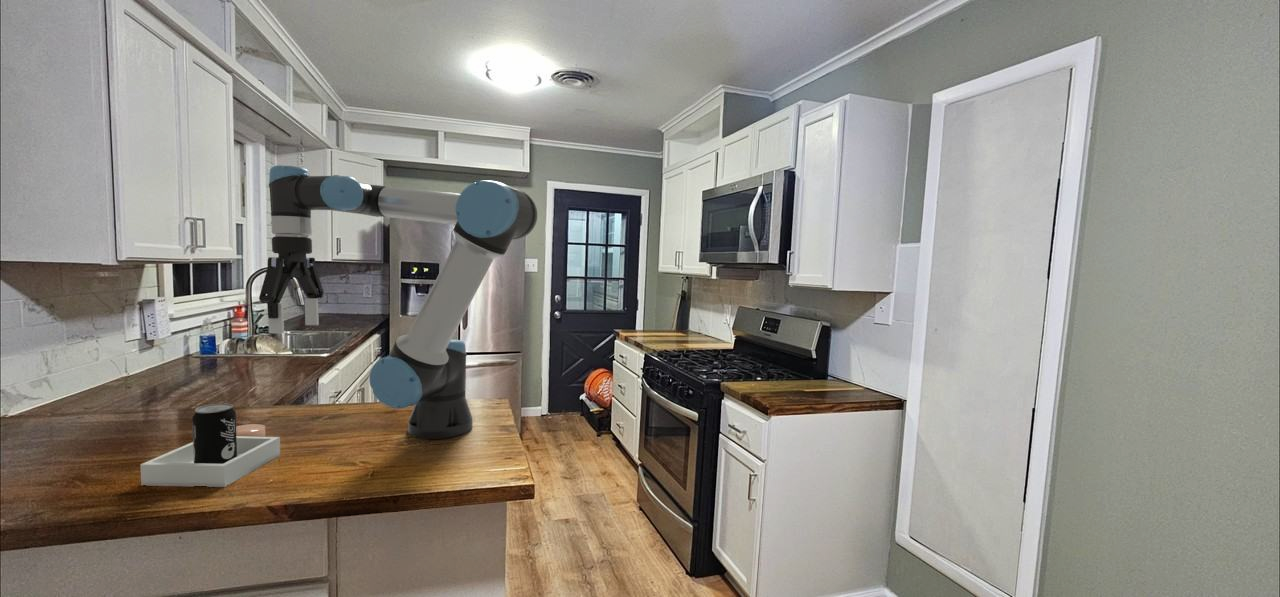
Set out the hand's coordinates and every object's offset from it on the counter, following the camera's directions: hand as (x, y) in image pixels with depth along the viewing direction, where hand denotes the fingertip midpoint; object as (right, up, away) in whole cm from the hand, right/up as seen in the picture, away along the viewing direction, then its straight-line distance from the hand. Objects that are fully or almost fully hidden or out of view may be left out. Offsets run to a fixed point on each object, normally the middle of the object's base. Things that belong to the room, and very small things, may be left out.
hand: (295, 329), depth 116 cm
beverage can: (-5, -27, -16) cm, 31 cm away
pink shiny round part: (-10, -26, -2) cm, 28 cm away
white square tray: (-5, -27, -16) cm, 32 cm away
